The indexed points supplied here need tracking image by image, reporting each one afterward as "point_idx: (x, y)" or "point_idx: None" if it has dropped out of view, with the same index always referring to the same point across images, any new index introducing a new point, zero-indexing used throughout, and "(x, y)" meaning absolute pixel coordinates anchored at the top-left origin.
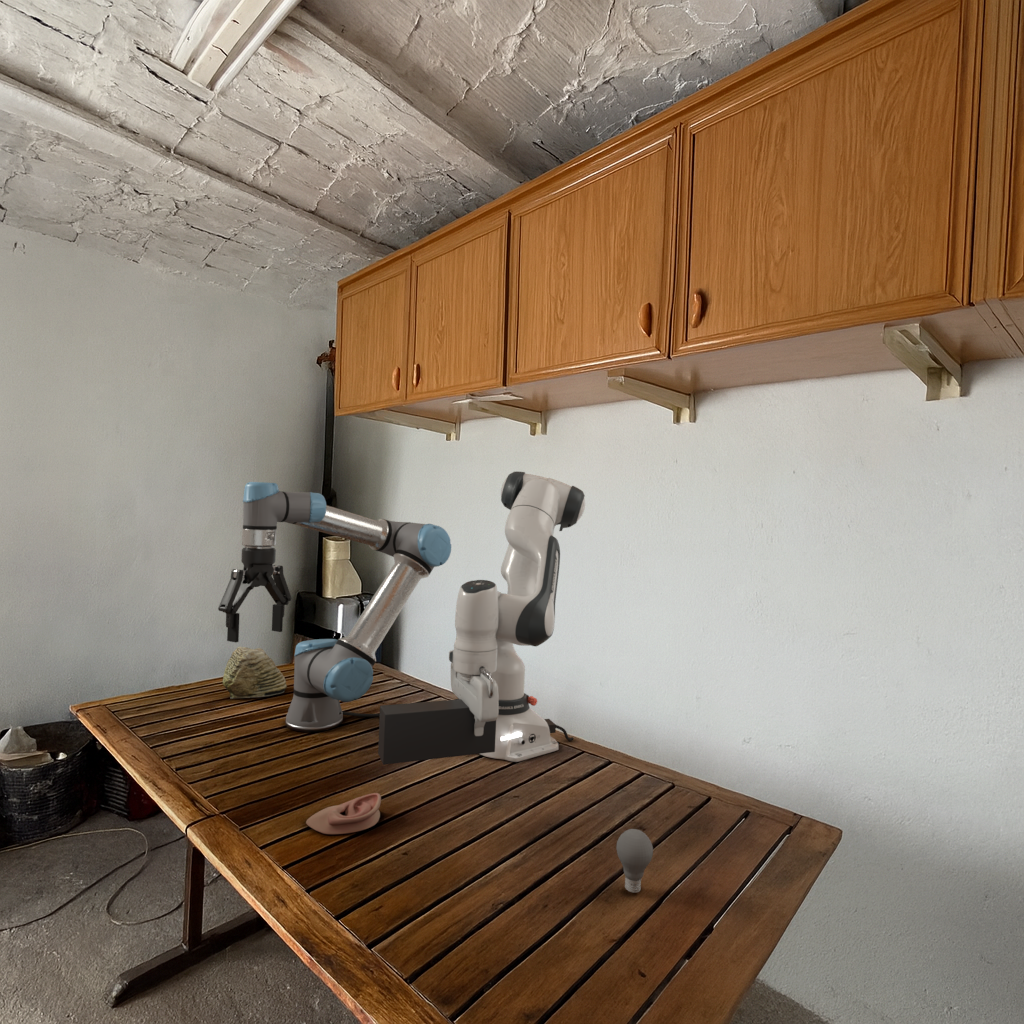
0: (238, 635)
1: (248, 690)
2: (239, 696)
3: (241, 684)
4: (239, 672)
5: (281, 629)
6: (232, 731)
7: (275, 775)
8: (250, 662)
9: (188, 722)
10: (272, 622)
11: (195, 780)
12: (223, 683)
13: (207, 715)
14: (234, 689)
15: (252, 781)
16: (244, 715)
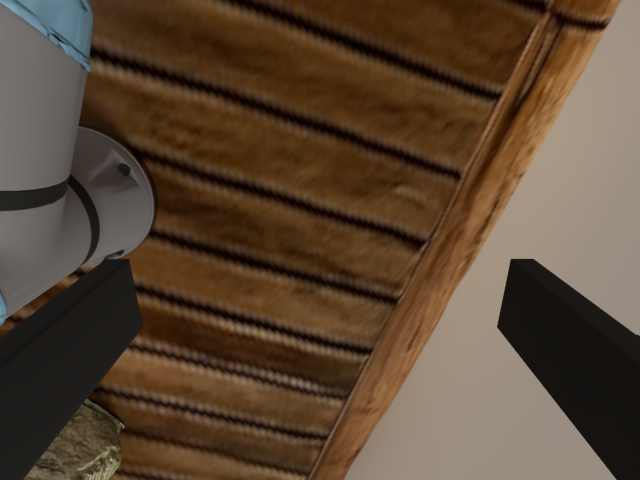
0: (538, 278)
1: (89, 416)
2: (109, 418)
3: (96, 434)
4: (86, 461)
5: (106, 266)
6: (238, 300)
7: (359, 46)
8: (46, 473)
9: (254, 392)
10: (111, 362)
11: (445, 177)
12: (119, 463)
13: (210, 393)
14: (113, 434)
15: (404, 70)
16: (165, 344)
